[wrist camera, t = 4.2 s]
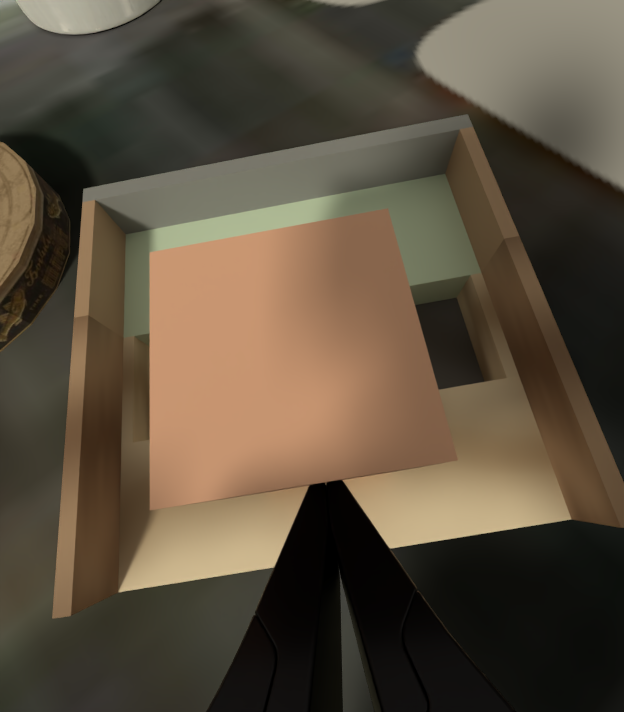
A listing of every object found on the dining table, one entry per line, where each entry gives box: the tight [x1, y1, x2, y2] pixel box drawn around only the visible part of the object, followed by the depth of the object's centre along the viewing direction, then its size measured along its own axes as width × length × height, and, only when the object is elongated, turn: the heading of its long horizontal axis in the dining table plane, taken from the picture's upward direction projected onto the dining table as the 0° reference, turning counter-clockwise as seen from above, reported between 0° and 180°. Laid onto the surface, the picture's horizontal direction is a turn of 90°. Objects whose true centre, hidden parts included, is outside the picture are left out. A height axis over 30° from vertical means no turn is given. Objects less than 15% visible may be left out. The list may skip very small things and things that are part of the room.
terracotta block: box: [150, 208, 458, 510], centre depth 11 cm, size 5×5×9 cm
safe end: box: [74, 114, 519, 347], centre depth 18 cm, size 7×18×5 cm, turn 99°
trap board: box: [52, 236, 624, 619], centre depth 15 cm, size 10×18×5 cm, turn 99°
